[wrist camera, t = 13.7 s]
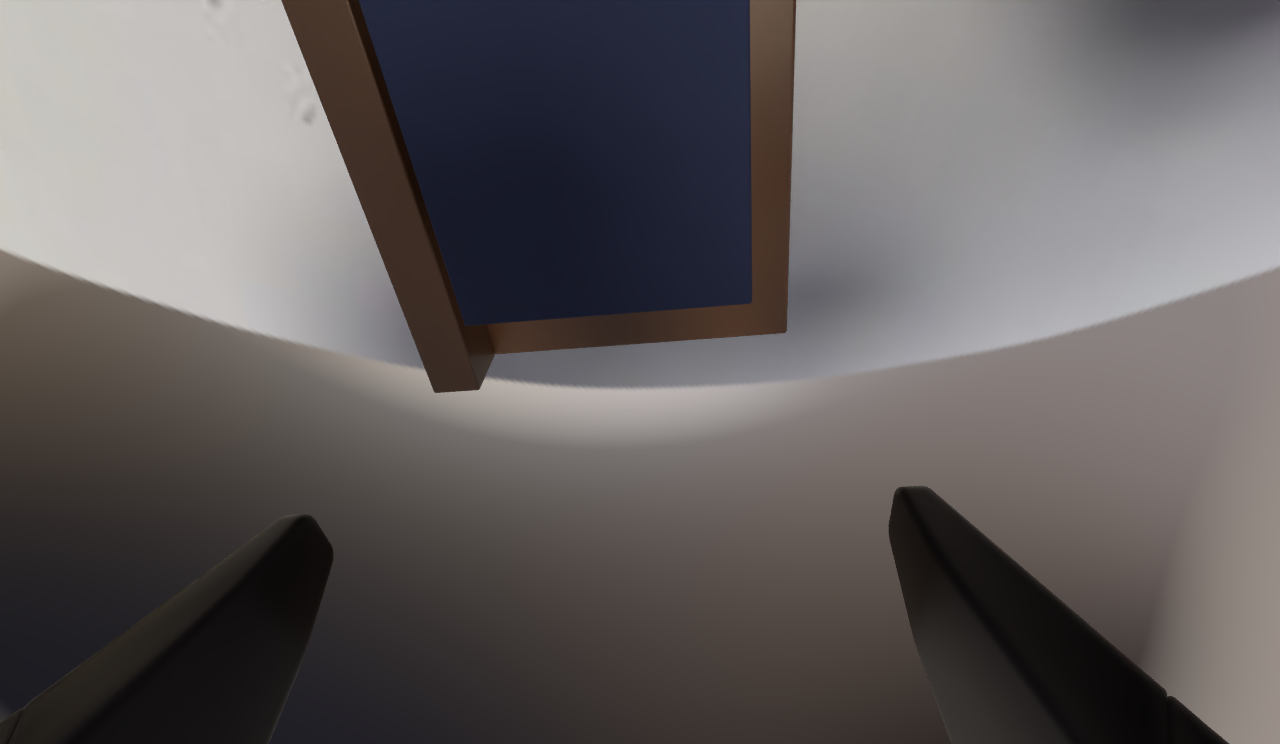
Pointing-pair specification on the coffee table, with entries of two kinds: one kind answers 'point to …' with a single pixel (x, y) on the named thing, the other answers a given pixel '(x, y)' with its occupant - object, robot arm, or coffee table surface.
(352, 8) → the sharpening stone holder
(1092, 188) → the coffee table surface
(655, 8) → the dark blue rectangular block
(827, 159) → the coffee table surface
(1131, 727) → the robot arm
